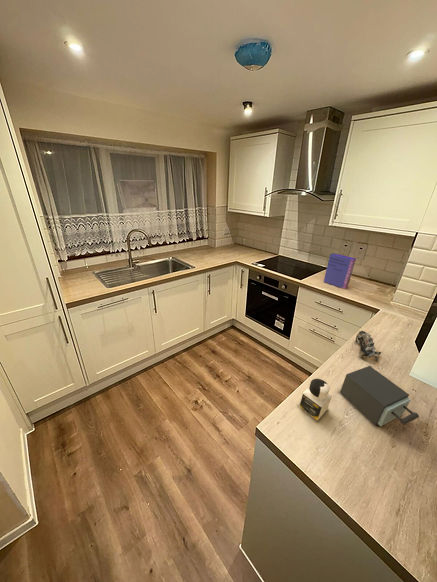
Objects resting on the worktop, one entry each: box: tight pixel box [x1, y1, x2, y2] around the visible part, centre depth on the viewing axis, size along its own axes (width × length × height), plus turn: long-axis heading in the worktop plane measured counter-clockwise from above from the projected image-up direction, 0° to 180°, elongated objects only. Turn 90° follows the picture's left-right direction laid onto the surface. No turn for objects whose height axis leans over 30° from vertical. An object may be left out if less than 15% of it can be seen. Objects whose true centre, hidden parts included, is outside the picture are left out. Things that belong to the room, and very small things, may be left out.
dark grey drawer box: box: [339, 365, 410, 426], centre depth 85 cm, size 15×13×10 cm
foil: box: [355, 330, 382, 362], centre depth 113 cm, size 12×11×15 cm
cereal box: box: [323, 252, 357, 290], centre depth 183 cm, size 17×5×24 cm, turn 42°
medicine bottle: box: [299, 378, 332, 421], centre depth 82 cm, size 7×7×12 cm
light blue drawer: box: [377, 396, 420, 427], centre depth 82 cm, size 18×11×8 cm, turn 23°
